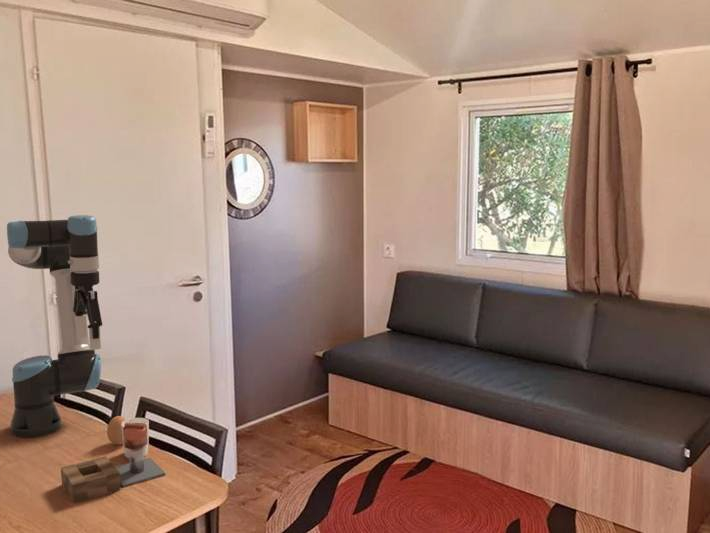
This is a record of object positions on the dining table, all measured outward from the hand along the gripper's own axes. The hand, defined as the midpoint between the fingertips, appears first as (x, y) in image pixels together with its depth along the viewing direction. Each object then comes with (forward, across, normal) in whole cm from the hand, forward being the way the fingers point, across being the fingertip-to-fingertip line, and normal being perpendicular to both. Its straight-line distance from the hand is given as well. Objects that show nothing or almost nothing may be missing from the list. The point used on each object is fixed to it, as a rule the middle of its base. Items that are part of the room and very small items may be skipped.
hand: (88, 343), depth 191 cm
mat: (+35, +16, +7) cm, 39 cm away
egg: (+36, -6, +9) cm, 38 cm away
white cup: (+36, +4, +11) cm, 38 cm away
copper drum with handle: (+35, +16, +7) cm, 39 cm away
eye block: (+35, +17, -6) cm, 40 cm away
